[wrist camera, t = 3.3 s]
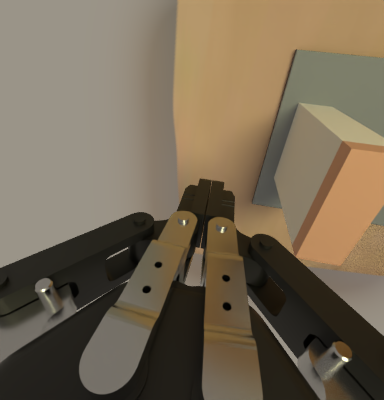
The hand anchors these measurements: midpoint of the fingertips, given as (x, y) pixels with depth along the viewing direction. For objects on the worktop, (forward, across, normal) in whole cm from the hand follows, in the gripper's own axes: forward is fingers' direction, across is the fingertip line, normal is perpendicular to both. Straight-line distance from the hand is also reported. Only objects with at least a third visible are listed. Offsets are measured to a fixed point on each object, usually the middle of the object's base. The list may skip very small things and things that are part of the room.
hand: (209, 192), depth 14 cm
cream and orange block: (+12, -8, 0) cm, 14 cm away
